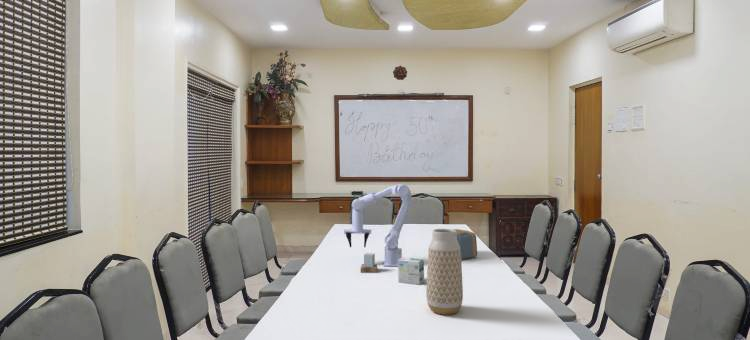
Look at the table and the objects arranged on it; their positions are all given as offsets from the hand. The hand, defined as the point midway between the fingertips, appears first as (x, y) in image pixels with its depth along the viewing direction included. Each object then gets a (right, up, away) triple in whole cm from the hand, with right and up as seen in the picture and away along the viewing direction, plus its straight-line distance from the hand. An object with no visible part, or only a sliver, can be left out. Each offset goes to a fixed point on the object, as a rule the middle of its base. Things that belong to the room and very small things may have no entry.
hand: (357, 247), depth 244 cm
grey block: (+6, -8, -11) cm, 15 cm away
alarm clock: (+57, -9, +19) cm, 61 cm away
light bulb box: (+26, -11, -31) cm, 42 cm away
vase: (+36, -13, -70) cm, 79 cm away
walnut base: (+6, -11, -11) cm, 16 cm away
